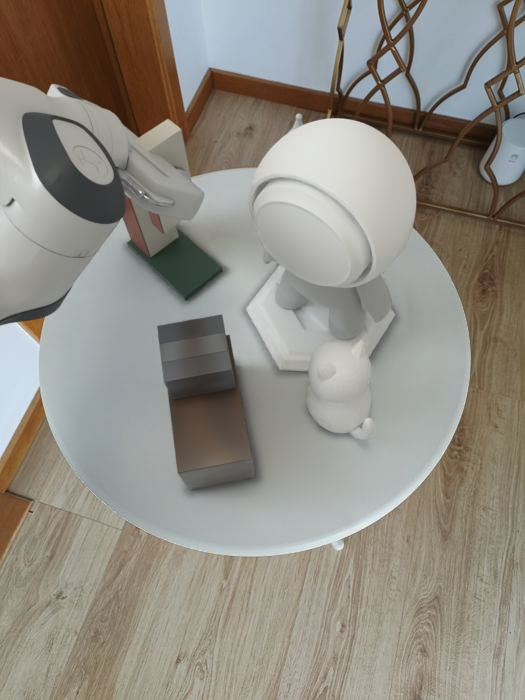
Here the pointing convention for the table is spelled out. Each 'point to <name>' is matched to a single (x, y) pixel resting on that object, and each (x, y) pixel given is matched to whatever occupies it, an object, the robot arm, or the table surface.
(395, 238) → the white toy figurine
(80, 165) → the robot arm
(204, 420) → the grey stand
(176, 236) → the green book holder
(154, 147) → the white book
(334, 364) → the cat figurine
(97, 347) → the table surface
